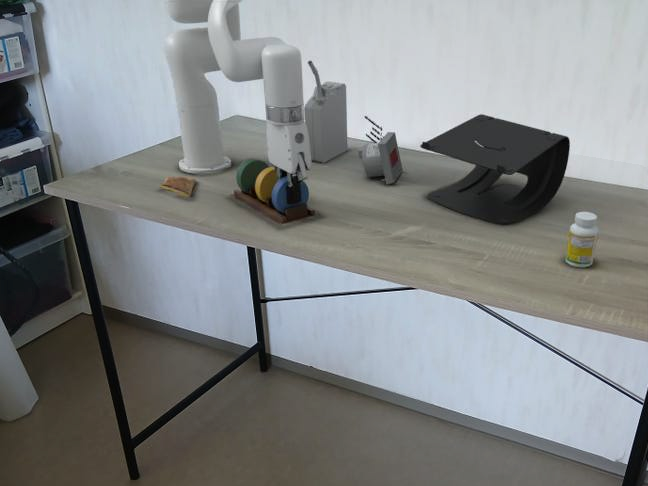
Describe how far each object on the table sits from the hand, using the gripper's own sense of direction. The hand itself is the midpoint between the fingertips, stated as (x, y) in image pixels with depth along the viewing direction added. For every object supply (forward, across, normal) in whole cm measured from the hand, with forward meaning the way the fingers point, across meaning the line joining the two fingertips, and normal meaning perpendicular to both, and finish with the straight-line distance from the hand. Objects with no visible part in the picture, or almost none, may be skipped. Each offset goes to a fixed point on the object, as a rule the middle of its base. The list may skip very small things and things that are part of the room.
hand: (290, 200), depth 158 cm
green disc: (+3, +15, 0) cm, 15 cm away
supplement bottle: (+4, -52, -32) cm, 61 cm away
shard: (+4, +28, +10) cm, 31 cm away
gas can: (+4, +30, -29) cm, 42 cm away
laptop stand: (+4, -18, -42) cm, 46 cm away
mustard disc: (+3, +7, 0) cm, 8 cm away
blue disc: (+3, 0, 0) cm, 3 cm away
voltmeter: (+4, +14, -35) cm, 38 cm away
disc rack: (+4, +7, 0) cm, 8 cm away
